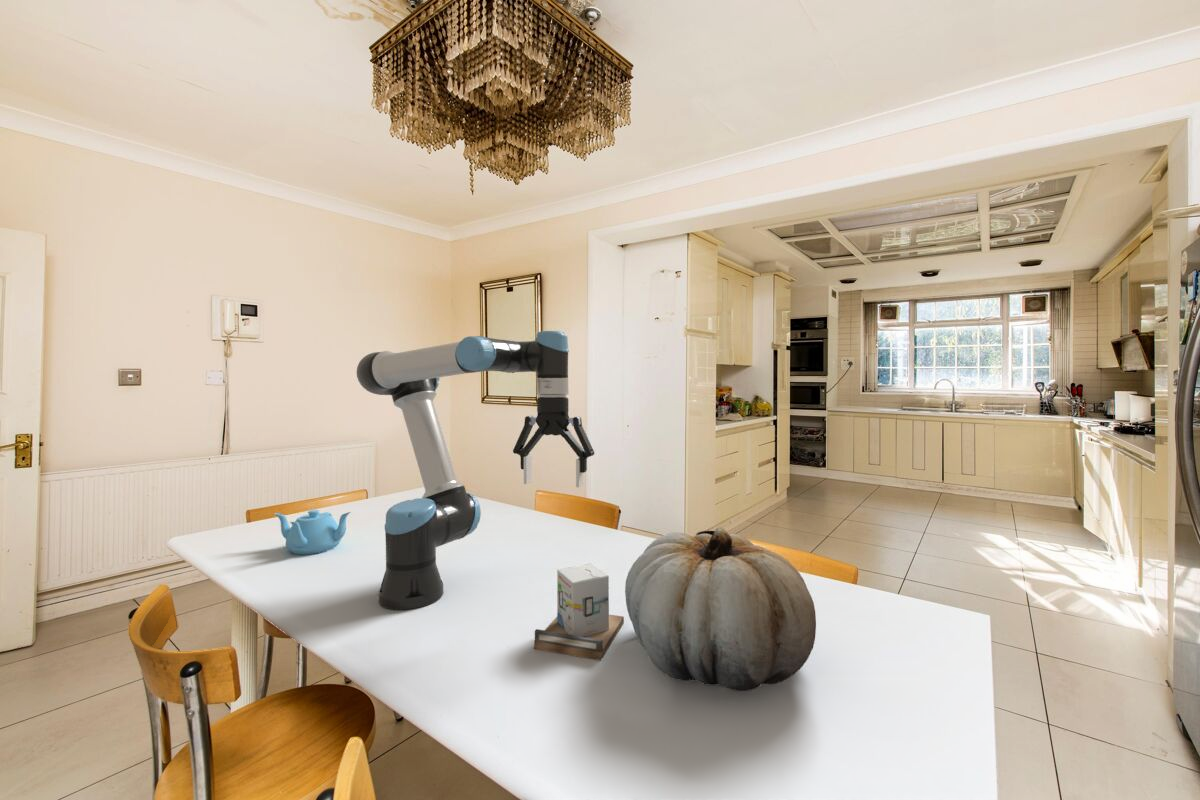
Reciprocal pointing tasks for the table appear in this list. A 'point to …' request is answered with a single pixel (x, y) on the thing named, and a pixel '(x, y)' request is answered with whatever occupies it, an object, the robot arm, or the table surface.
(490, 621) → the table surface
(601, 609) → the ink box
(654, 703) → the table surface
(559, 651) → the brown flat block
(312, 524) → the teapot
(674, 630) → the pumpkin
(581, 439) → the robot arm
